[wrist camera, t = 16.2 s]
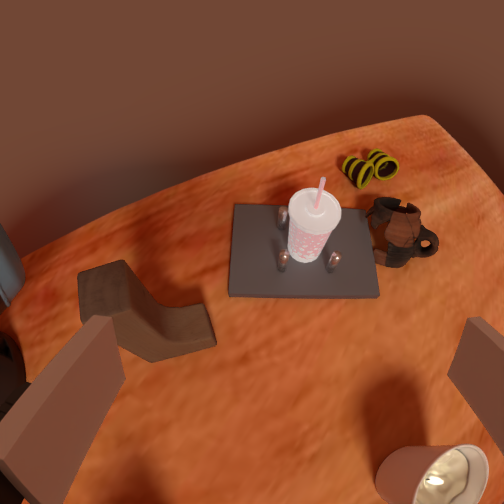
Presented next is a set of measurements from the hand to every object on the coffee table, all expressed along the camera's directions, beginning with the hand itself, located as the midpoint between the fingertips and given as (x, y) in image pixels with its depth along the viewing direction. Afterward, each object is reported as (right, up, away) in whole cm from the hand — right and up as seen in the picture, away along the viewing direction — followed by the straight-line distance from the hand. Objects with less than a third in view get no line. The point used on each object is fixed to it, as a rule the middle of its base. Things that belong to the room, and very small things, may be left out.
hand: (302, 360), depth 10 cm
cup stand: (+6, +4, +33) cm, 34 cm away
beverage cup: (+5, +4, +32) cm, 33 cm away
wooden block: (-11, -7, +28) cm, 31 cm away
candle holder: (+18, -25, +18) cm, 35 cm away
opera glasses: (+19, +17, +41) cm, 48 cm away
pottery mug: (+20, +5, +34) cm, 40 cm away
